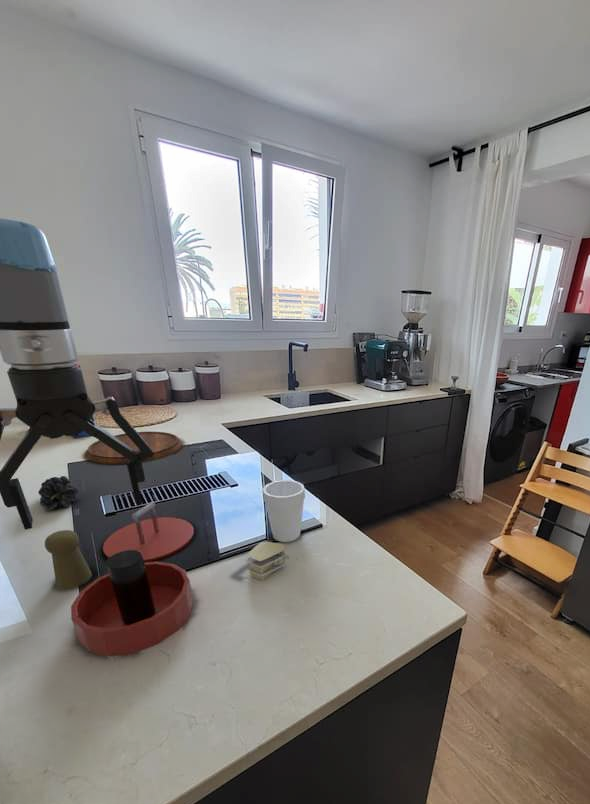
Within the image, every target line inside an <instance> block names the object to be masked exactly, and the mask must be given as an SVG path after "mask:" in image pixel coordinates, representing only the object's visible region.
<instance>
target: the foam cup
mask: <svg viewBox="0 0 590 804" xmlns="http://www.w3.org/2000/svg"><path fill="white" fill-rule="evenodd" d="M262 494H263V496H262V497H263V502H264V504H265V507H266V511H267V515H268V520H269V525H270V529H271V534H272V538H273V539H274V540H275V541H277V542H281V543H289V542H293V541H295V540H297V539H299V537H300V536H301V532H302V531H301V530H302V521H303V520H302V519H303V512H304V502H305V498H306V489H305V486H304V484H303V483H302V482H299V481H296V480H292V479H281V480H276V481H275V480H274V481H271V482H269V483H267V484H265V486H264V487H263V488H262Z"/></svg>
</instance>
